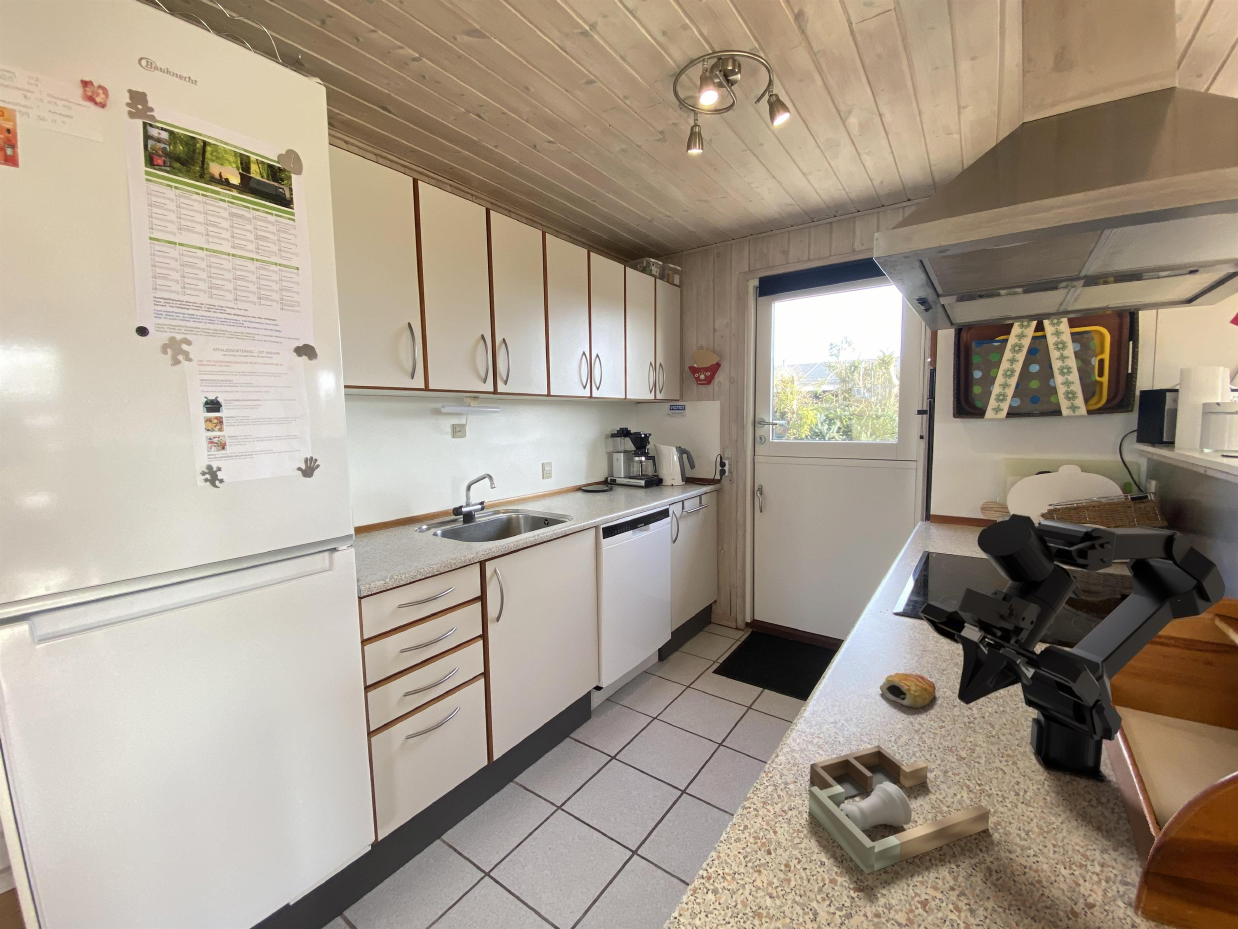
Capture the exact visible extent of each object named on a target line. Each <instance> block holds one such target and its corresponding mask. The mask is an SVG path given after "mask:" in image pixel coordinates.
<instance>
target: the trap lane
mask: <svg viewBox="0 0 1238 929" xmlns="http://www.w3.org/2000/svg"><path fill="white" fill-rule="evenodd" d="M928 767H929V766H928V764H926V763H925V762H923V760H918V761H915V762H912V763H909V764H904V763H903V762H901V760H899V759H898V758H896V757H895V756H894V755H893V754H891V753H890V752H889V751H888V750H886V749H885V748H883V747H882V746H880V744H879V745H875V746H871V747H867V748H863V749H860V750H857V751H854V752H853V751H852V752H849V753H847V754H842V755H839V756H835V757H832V758H828V759H824V760H821V761H816V762H814V763H810V767H809V780H810V782H811V783H812V784H813V785H814V786H811V787H809V789H808V791H809V792H808V812H809V813H810V814H811V816H813V817H814V818H815V820H816V821H817V822H818V823H819V824H820V825H821V826H822V827H823V828H824V830H825V831H827V833H829V835H830V836H831V837H832V838H833V839H834V840H835V842H836V843H838V845H839V846H840V847H841V848H842V849H843V850H844V851H845V853H846V854H848V856H849V857H851V859H852V860H853V861H854V862H855V863H856V865H858V867H859V868H860V869H861V870H862V871H863V872H864V873H865V874H866V875H868V874H871V873H874V872H876V871H879V870H881V869H883V868H886V867H889V866H891V865H895V864H897V863H899V862H902V861H905V860H908V859H910V858H913V857H916V856H918V855H921V854H924V853H926V852H929V851H931V850H933V849H937V848H939V847H942V846H944V845H948V844H949V843H952V842H955V841H958V840H961V839H963V838H966V837H969V836H972V835H974V834H977V833H980V832H982V831H984V830H987V829H989V824H990V810H989V809H988V808H987V807H986V806H984V805H983V804H978V805H976V806H973V807H970V808H967V809H964V810H961V811H958V812H955V813H953V814H950V815H947V816H944V817H941V818H939V819H936V820H933V821H930V822H927V823H925V824H921V825H919V826H916V827H913V828H910V829H908V830H904V831H902V832H899V833H896V834H894V835H890V836H888V837H885V838H883V839H879V840H876V841H873V842H872V840H871V839H870V838H869V837H868V836H867V835H866V833H864V832H863V831H862V830H860V829H859V828H858V827H857V826H856V825H855V824H854V823H853V822H852V821H851V820H850V819H849V818H848V817H847V816H846V815H845V814H844V813H843V812H842V811H841V810H840V809H839V807H840V805H841V804H843V803H844V804H846V803H845V800H846V799H849V798H853V797H855V796H858V795H863V794H865V793H870V792H871V793H872V792H873V791H874V789H875V787H876V786H877V785H880V784H882V783H883V782H887V781H888V782H890V783H892V784H894V785H895V784H897V783H900V784H901V785H903V786H904V787H905V788H910V787H913V786H917V785H919V784H922V783H926V782H927V781H928Z"/></svg>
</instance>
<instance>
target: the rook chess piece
mask: <svg viewBox="0 0 1238 929" xmlns="http://www.w3.org/2000/svg"><path fill="white" fill-rule="evenodd" d="M839 809H840V810H841V811H842V812H843V813H844V814H845V815H846V816H847V817H848V818H849V819H850V820H851V821H852V822H853V823H854V824H855V825H856V826H857V827H858V828H859V829H860V830H861V831H862V830H863V831H864V830H865V831H869V830H870V827H874V826H877V825H878V826H879V825H882V824H883V825H884V824H885V825H887V826H892V827H894V828H895V827H897V828H898V827H902V826H903V825H904V826H908V825H909V824H910V823H911V822H912V817H913V811H912V807H911V804H910V802H909V800H908V797H907V795H905V793H904V791H903V790H902V789H901V788H899V786H898V785H896V784H895V783H894V784H892V783H890V782H888V781H887V782H883V783H882V784H880V785H877V786H876V787H875V789H874V790H872V791H871V794H870V796H868V797H867V798H865V799H863V800H862V801H859V802H857V801H852V803H851V805H849V804H846V803H845V804H844V803H843V804H841V805H840V807H839Z"/></svg>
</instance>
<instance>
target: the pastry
mask: <svg viewBox="0 0 1238 929" xmlns="http://www.w3.org/2000/svg"><path fill="white" fill-rule="evenodd" d="M936 688H937V687H936V685H935V683H934V682H933V681H931V680H930V679H928V678H927V677H925V676H924V675H921V674H917V673H915V674H913V673H904V672H895V673H894V674H889V675H888V676H886V678H885V679H884V681H883V682H882V684H880V685H879V690H880V692H881V693H882V695H883V696H884V697H885V696H886V698H887V699H889V700H891V699H892V700H891V701H893V700H894V701H893V702H896V701H897V702H896V703H899V704H901V705H903V706H905V707H908V708H914V709H918V708H923V706H927V705H928V704H929V703H931V701H932V700H933V698H934V697H935V695H936V691H937V690H936Z"/></svg>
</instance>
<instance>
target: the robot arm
mask: <svg viewBox="0 0 1238 929" xmlns="http://www.w3.org/2000/svg"><path fill="white" fill-rule="evenodd" d="M976 541H977V546H978V548H979V549H980V551H981V552H982V553H983V554H984V556H986V557H987V559H988V560H989V561H990V562H991V564H992V565H993V566H994V568H996V569H997V571H998V572H999V574H1000V575H1001V576H1002V577H1003V578H1004V579H1007V580H1009V582H1008V584H1007V585H1006V587H1005V588H1004V590H1003V591H1001V590H998V589H996V590H994V591H993V592H992V593H991V594H990V595H989V594H986V593H984V592H982V591H978V590H975V589H972V588H971V587H967V586H965V589H964V590H963V593H962V597H961V599H960V602H959V604H958V606H957V609H955V608H952V607H950V606H947V605H945V604H943V603H941V602H938V601H936V600H932V601H928V602H926V603H925V604H924V605H923V606H922V607H921V608H920V610H919V612H918V615H919V616H920V617H921V618H922V619H923V620H924V621H925V623H926V624H927V625H928V626H929V627H930V628H931V630H932V631H933V632H935V634H937V635H938V636H940V637H943V638H944V639H946V640H948V641H950V642H952V643H954V644H957V645H959V644H960V645H961V647H962V651H963V652H962V653H963V654H962V655H963V657H962V659H963V660H962V669H961V676H960V681H959V687H958V694H957V699H958V700H959V701H960V702H962V703H963V704H965V705H970V704H972V703H975V702H976V701H979V700H981V699H983V698H985V697H987V696H989V695H992V694H993V693H996V692H998V691H1001V690H1004V689H1006V688H1009V687H1012V686H1015V685H1019V684H1020V686H1021V690H1022V691H1021V692H1022V695H1023V699H1024V704H1025V706H1026V707H1028V708H1031V709H1034V710H1036V711H1037V713H1036V717H1032V718H1031V725H1030V726H1031V729H1030V742H1029V743H1030V746H1031V748H1032V750H1033V752H1034V754H1035V755H1036V756H1037V757H1038V759H1039V761H1040V763H1041V766H1042V767H1044V768H1045V769H1047V770H1050V771H1051V770H1053V771H1055V772H1060V773H1064V774H1068V775H1073V776H1075V777H1081V778H1085V779H1090V780H1094V781H1099V782H1103V783H1105V782H1106V781H1107V777H1106V776H1105V774H1104V773H1103V771H1102V769H1101V766H1102V755H1103V745H1104V744H1103V743H1104V740H1106V741H1110V742H1112V741H1115V737H1116V736H1115V735H1117V734H1118V733H1119V731H1120V730H1121V725H1122V721H1123V718H1122V717H1121V715H1120V714H1119V713H1118V711H1117V710H1116V709H1115V707H1114V706H1113V705H1112V702H1113V701H1112V700H1113V699H1112V692H1111V683H1110V681H1111V680H1112V679H1113V678H1114V677H1115V676H1117V674H1118V673H1119V672H1120V671H1121V670H1122V669H1123V668H1124V667H1125V666H1126V665H1127V664H1129V662H1131V660H1132V659H1133V658H1134V657H1135V656H1137V655H1138V654H1139V653H1140V652H1141V651H1142V650H1143V649H1144V648H1145V647H1146V646H1147V645H1148V644H1149V643H1150V642H1151V641H1152V640H1153V639H1154V638H1155V637H1156V636H1157V635H1158V634H1160V632H1162V630H1163V629H1165V627H1166V626H1168V625H1169V624H1170V623H1171V622H1173V620H1178V619H1179V620H1181V619H1187V618H1191V617H1192V618H1193V617H1197V616H1198V617H1199V616H1200V615H1202V614H1204V613H1205V612H1207V611H1208V610H1209V609H1211V608H1212V607H1213V606H1215V604H1216V605H1217V604H1218V603H1220V602H1221V601H1222V600H1223V598H1224V596H1225V592H1226V585H1225V581H1224V579H1223V576H1222V574H1221V573H1220V571H1219V569H1218V566H1217V565H1216V563H1214V561H1212V560H1211V559H1209V558H1208V557H1207V556H1205V555H1204V554H1203V553H1201V552H1200V551H1199V550H1197V549H1195V548H1194V547H1193V546H1192V544H1191V543H1190V539H1189V538H1188V537H1187V536H1186V534H1182V533H1180V532H1179V531H1175V530H1168V529H1163V528H1159V527H1151V526H1145V525H1142V526H1140V527H1139V526H1136V527H1107V528H1104V527H1099V526H1098V527H1097V526H1092V525H1086V524H1085V525H1084V524H1080V523H1073V522H1067V521H1061V520H1055V519H1052V518H1051V519H1050V518H1045V519H1042V520H1040V521H1038V523H1037V525H1036V524H1035V522H1034V520H1033V519H1032V518H1031V516H1030V515H1025V514H1024V515H1023V514H1019V513H1012V514H1011V515H1010V516H1009V518H1008V519H1003V520H1000V521H996V522H992V524H990V525H987V526H986V527H984V528H982V530H980V532H979V534H978V536H977V540H976ZM1121 560H1122V561H1123V560H1128V562H1127V563H1126V569H1127V570H1128V572H1129V574H1130V582H1131V587H1132V593H1131V594H1130V595H1128V596H1127V597H1126V599H1124V600H1123V601H1122V602H1121V603H1120V604H1119V605H1118V606H1117V607H1116V608H1115V609H1113V610H1112V612H1110V613H1109V614H1108V615H1107V616H1106V617H1105V618H1104V619H1103V620H1102V621H1100V623H1098V624H1097V626H1095V627H1094V628H1093V629H1092V630H1090V632H1088V634H1086V635H1085V636H1084V637H1083V638H1082V639H1081V640H1080V641H1079V642H1078V643H1077V644H1075V646H1074V647H1073V648H1071V649H1064V648H1063V647H1060V646H1057V645H1054V644H1050V645H1047V646H1045V647H1044V648H1043V649H1042V650H1040V651H1039V652H1038V653H1037V652H1036V650H1035V649H1036V647H1037V645H1038V644H1039V642H1040V640H1041V639H1043V636H1044V635H1045V634H1047V635H1050V636H1051V635H1052V634H1053V633H1054V631H1055V630H1056V627H1055V626H1054V625H1053V624H1052V623H1053V621H1055V618H1056V617H1057V616H1058V613H1059V612H1060V611H1061V609H1062V608H1063V606H1064V605H1065V603H1066V602H1067V600H1068V599H1069V597H1072V598H1075V599H1081V598H1082V596H1083V595H1082V588H1081V587H1080V584H1079V581H1078V577H1077V576H1076V575H1072V574H1071V573H1070V572H1069V571H1068V570H1067V569H1066V568H1065V567H1067V568H1068V567H1069V568H1072V569H1076V570H1082V571H1085V572H1089V573H1096V572H1098V571H1102V570H1106V569H1108V568H1112V567H1113V562H1114V561H1121ZM1064 566H1065V567H1064ZM1178 600H1180V601H1178ZM960 613H964V614H971V616H970V617H969V618H970V620H971V621H972V622H973V623H975V624H977V625H978V627H976V626H974V625H972V624H969V622H967V621H966V620H965V618H964V617H963V616H962V615H961V614H960Z"/></svg>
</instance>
